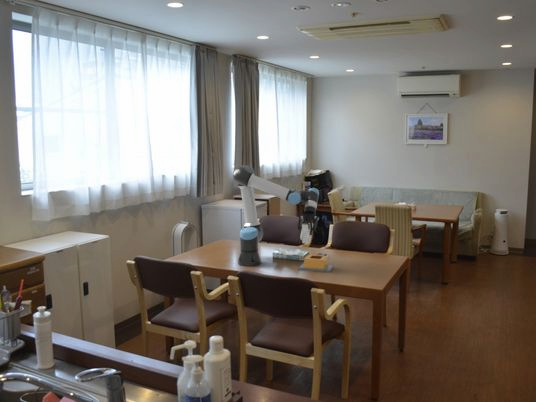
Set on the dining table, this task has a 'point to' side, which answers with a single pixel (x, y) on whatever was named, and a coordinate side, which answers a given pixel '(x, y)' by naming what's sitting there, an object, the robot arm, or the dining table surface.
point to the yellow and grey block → (316, 263)
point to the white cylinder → (305, 232)
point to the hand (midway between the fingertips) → (304, 238)
